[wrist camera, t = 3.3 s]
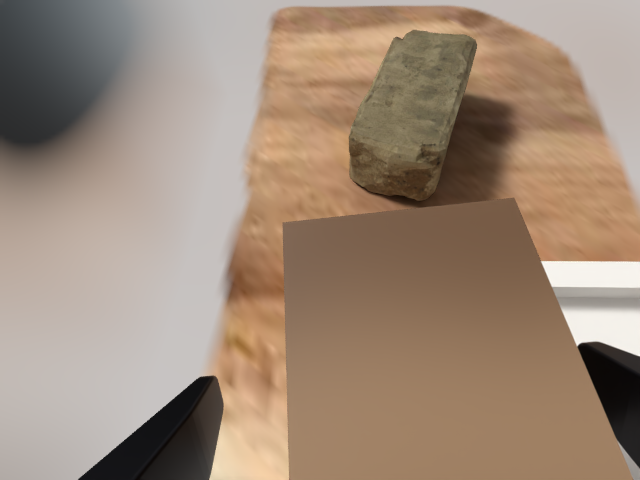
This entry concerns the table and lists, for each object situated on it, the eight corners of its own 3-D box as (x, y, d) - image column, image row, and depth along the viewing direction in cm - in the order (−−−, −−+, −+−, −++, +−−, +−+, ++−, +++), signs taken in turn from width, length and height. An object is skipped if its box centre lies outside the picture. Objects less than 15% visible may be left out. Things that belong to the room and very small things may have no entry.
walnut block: (430, 430, 14) (635, 485, 4) (333, 438, 14) (289, 511, 4) (410, 331, 15) (514, 197, 6) (325, 340, 16) (282, 222, 6)
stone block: (460, 94, 26) (483, 29, 21) (428, 213, 21) (448, 162, 17) (388, 82, 27) (396, 19, 23) (344, 191, 23) (342, 139, 18)
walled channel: (689, 539, 13) (813, 587, 10) (317, 511, 15) (306, 543, 11) (599, 291, 18) (660, 261, 14) (325, 287, 19) (319, 260, 16)
